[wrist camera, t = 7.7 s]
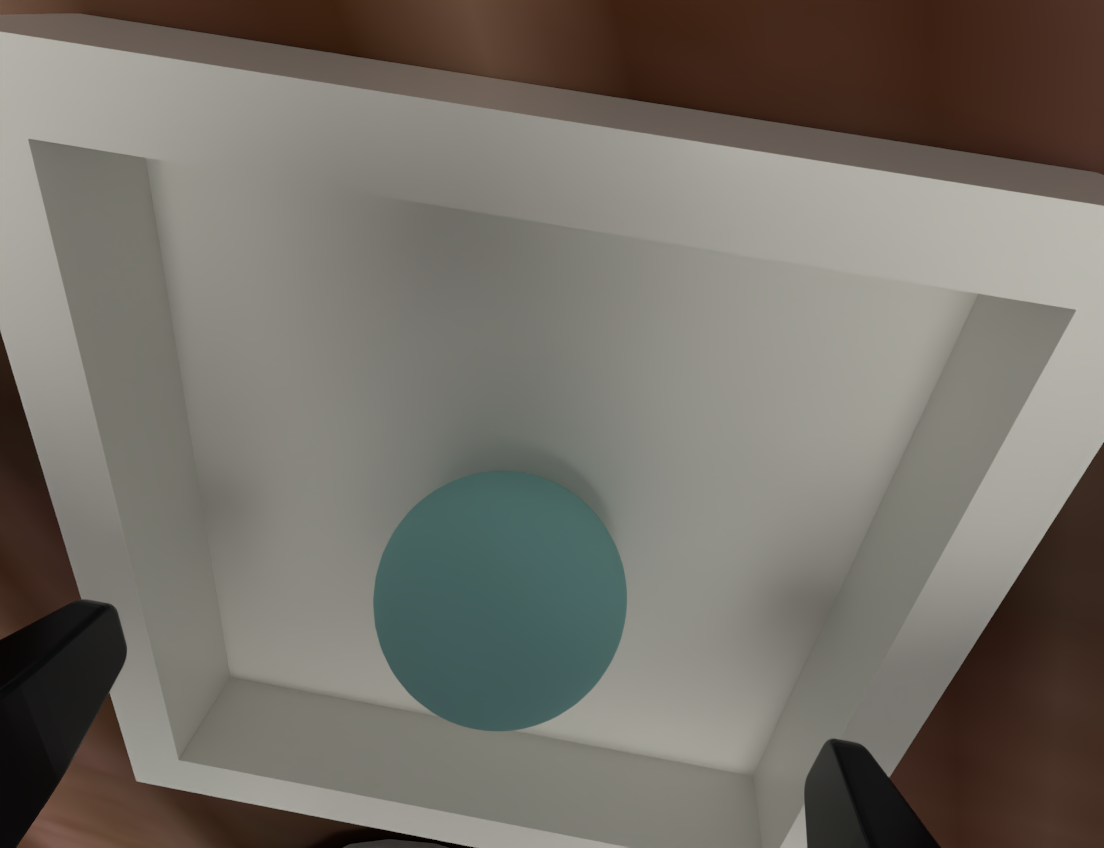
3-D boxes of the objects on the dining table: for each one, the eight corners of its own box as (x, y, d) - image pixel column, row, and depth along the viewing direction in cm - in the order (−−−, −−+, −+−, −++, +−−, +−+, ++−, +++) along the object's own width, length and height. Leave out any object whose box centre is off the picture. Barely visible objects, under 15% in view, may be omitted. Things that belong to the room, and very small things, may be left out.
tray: (1096, 172, 9) (1240, 227, 7) (782, 786, 15) (803, 911, 13) (78, 13, 9) (-94, 16, 7) (205, 676, 16) (136, 781, 14)
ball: (644, 442, 11) (657, 620, 8) (604, 609, 13) (603, 805, 10) (411, 408, 11) (332, 572, 8) (406, 580, 13) (340, 768, 10)
